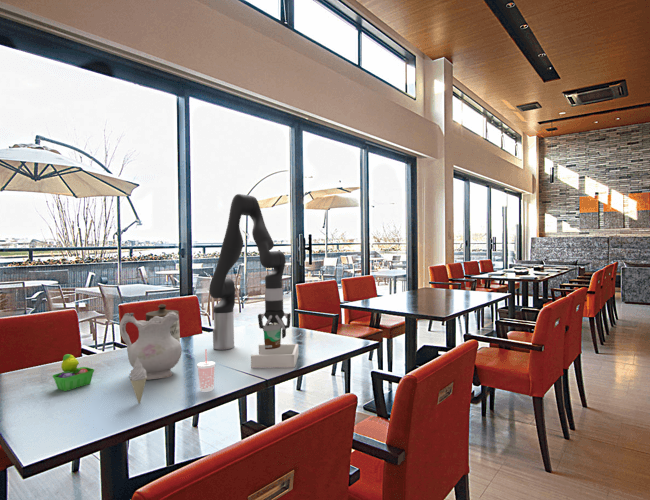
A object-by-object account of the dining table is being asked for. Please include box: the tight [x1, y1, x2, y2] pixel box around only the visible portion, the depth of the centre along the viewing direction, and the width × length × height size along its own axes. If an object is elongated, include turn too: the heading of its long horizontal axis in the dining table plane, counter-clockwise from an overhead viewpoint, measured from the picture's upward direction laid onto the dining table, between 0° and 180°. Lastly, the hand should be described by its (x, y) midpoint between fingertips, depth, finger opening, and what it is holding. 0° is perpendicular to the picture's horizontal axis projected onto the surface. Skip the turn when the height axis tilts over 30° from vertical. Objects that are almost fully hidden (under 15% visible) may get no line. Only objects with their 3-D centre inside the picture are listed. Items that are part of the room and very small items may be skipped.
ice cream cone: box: [129, 357, 147, 404], centre depth 134 cm, size 5×5×15 cm
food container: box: [262, 323, 282, 349], centre depth 178 cm, size 12×6×10 cm, turn 168°
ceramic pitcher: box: [119, 312, 183, 381], centre depth 162 cm, size 22×20×25 cm
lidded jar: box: [145, 303, 181, 343], centre depth 199 cm, size 15×15×22 cm
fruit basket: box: [52, 353, 95, 392], centre depth 152 cm, size 11×9×11 cm
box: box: [250, 343, 300, 369], centre depth 178 cm, size 18×18×5 cm
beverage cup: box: [196, 348, 216, 393], centre depth 146 cm, size 6×6×14 cm
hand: (275, 338), depth 178 cm, fingers closed on food container, 6 cm apart
